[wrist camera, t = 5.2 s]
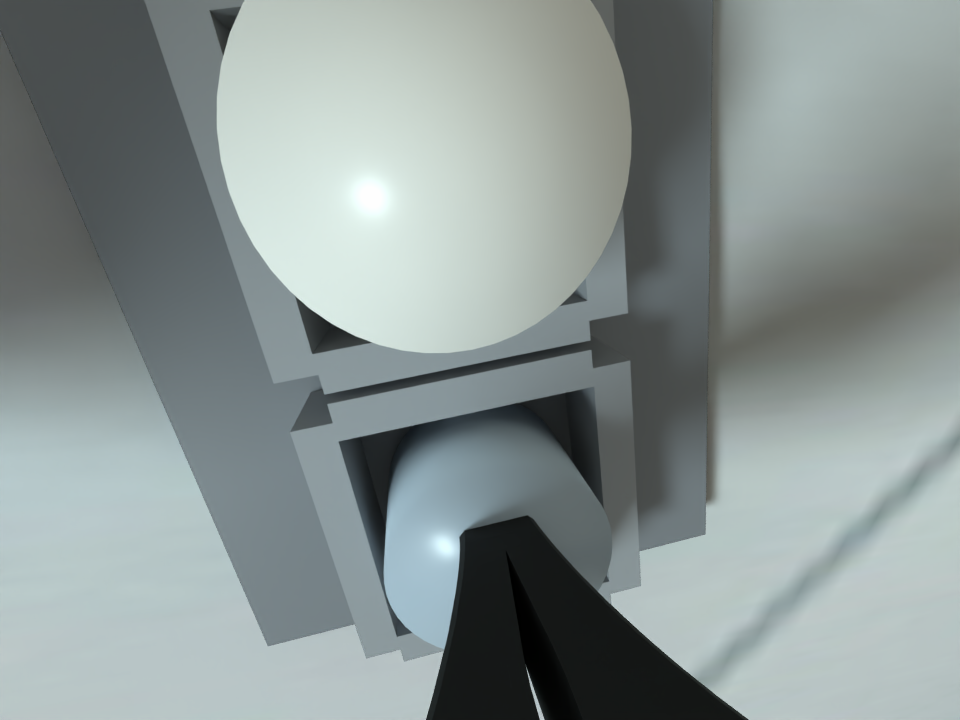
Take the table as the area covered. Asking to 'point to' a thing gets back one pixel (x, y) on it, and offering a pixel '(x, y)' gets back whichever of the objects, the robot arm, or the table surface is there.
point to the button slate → (480, 506)
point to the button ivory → (425, 159)
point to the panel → (352, 360)
